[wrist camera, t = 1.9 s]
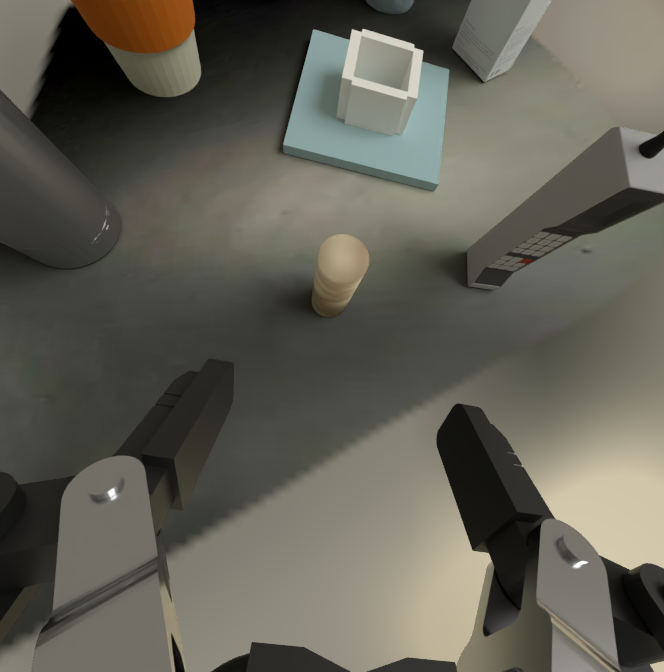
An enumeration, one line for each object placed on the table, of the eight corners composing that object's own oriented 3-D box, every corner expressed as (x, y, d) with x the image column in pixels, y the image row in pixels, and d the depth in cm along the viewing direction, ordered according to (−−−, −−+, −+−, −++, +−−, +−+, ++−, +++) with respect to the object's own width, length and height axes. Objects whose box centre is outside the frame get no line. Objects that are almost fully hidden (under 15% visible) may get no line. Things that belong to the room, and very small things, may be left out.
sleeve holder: (283, 153, 34) (281, 105, 28) (313, 40, 38) (315, -20, 33) (433, 191, 36) (459, 153, 30) (445, 79, 40) (468, 28, 35)
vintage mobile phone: (466, 287, 33) (930, -3, 9) (465, 250, 34) (876, -97, 10) (494, 291, 33) (1012, 23, 9) (492, 255, 35) (951, -69, 10)
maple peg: (308, 313, 30) (313, 275, 20) (314, 281, 31) (323, 229, 21) (343, 320, 30) (365, 286, 20) (348, 288, 31) (372, 240, 21)
